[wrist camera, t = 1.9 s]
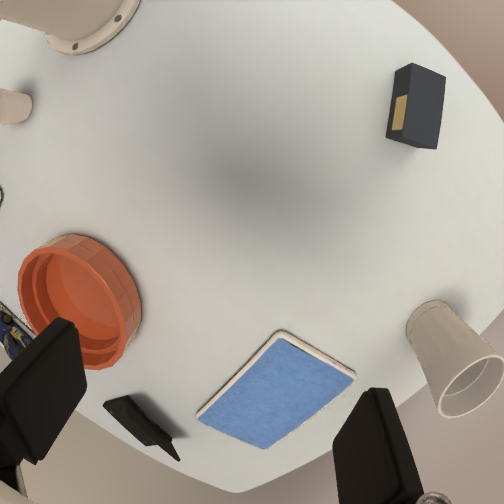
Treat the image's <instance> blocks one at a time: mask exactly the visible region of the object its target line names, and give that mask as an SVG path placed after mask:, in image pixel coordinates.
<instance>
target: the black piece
mask: <svg viewBox="0 0 504 504" xmlns="http://www.w3.org/2000/svg"><path fill="white" fill-rule="evenodd" d="M103 407H104V408H105V409H106V410H107V411H108V412H109V413H110V414H111V415H112V416H113V417H114V418H115V419H116V420H117V421H118V422H119V423H120V424H121V425H122V426H123V427H125V428H126V429H127V430H128V431H129V432H130V433H131V434H132V435H133V436H134V437H136V438H137V439H138V440H139V441H140V442H141V443H142V444H144V445H145V446H152V445H159V446H160V447H161V448H162V449H163V450H164V451H166V452H167V453H168V454H169V455H171V456H172V457H173V458H174V459H175V460H177V461H178V462H179V461H180V458H179V456H178V454H177V452H176V450H175V449H174V447H173V445H172V443H171V442H172V438H171V437H170V436H169V435H168V434H167V433H166V432H165V431H164V430H163V429H161V428H160V427H159V426H158V425H157V424H155V423H154V422H153V421H152V420H151V419H150V418H149V417H148V416H147V415H146V414H145V412H144V411H143V410H142V409H141V408H140V407H139V406H138V405H137V404H136V403H135V402H134V401H133V400H132V399H131V398H130V397H129V396H124V397H121V398H117V399H114V400H110V401H106V402H105V403H104V404H103Z"/></svg>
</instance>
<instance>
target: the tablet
mask: <svg viewBox="0 0 504 504" xmlns="http://www.w3.org/2000/svg"><path fill="white" fill-rule="evenodd" d="M355 381H356V374H355V373H354V372H353V371H351V370H350V369H348V368H345V366H343V365H342V364H340V363H338V362H337V361H335V360H333V359H332V358H330V357H328V356H327V355H325V354H323V353H321V352H320V351H318V350H316V349H315V348H313V347H311V346H310V345H308V344H306V343H304V342H303V341H301V340H299V339H297V338H296V337H294V336H292V335H290V334H289V333H287V332H284V331H279V332H277V333H275V334H274V335H273V336H272V337H271V338H270V339H269V340H268V342H267V343H266V344H265V345H264V346H263V347H262V348H261V349H260V350H259V351H258V353H257V354H256V355H255V356H254V357H253V358H252V359H251V360H250V361H249V362H248V363H247V364H246V365H245V366H244V367H243V368H242V369H241V370H240V371H239V372H238V373H237V374H236V376H235V377H234V378H233V379H232V380H231V381H230V382H229V383H228V384H226V385H225V386H224V387H223V388H222V389H221V390H220V391H219V392H218V393H217V394H216V395H215V396H214V397H213V398H212V399H211V400H210V401H209V402H208V403H207V404H206V405H205V406H204V407H203V408H202V409H201V410H200V411H199V412H197V413H196V419H197V420H198V421H199V422H201V423H203V424H205V425H207V426H209V427H211V428H214V429H216V430H218V431H220V432H222V433H224V434H227V435H229V436H231V437H233V438H236V439H238V440H240V441H243V442H245V443H247V444H250V445H252V446H255V447H257V448H260V449H268V448H270V447H271V446H273V445H274V444H276V443H277V442H279V441H280V440H282V439H283V438H284V437H286V436H287V435H289V434H290V433H291V432H293V431H294V430H296V429H297V428H298V427H300V426H301V425H302V424H304V423H305V422H306V421H308V420H309V419H310V418H312V417H313V416H314V415H316V414H317V413H318V412H319V411H321V410H322V409H323V408H324V407H326V406H327V405H328V404H329V403H331V402H332V401H333V400H334V399H336V398H337V397H338V396H339V395H340V394H342V393H343V392H344V391H345V390H346V389H347V388H349V387H350V386H351V385H352V384H353V383H354V382H355Z"/></svg>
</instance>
